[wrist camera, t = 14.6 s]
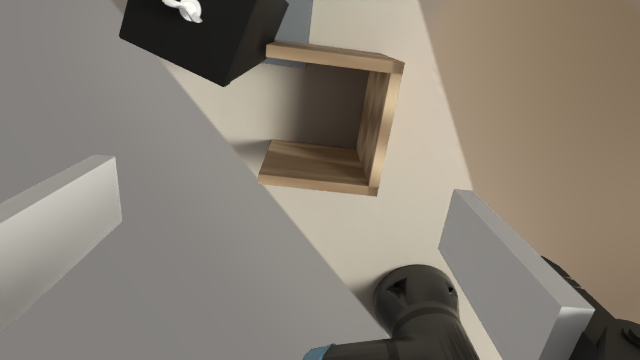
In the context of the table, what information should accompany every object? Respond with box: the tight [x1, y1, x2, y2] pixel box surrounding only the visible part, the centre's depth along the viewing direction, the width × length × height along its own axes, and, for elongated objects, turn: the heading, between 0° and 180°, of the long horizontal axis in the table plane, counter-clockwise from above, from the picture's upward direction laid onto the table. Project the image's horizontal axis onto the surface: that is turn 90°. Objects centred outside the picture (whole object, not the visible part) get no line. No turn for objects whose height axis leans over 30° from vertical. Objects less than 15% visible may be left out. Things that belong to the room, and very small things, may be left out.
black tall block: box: [119, 0, 289, 87], centre depth 34 cm, size 8×8×28 cm
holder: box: [258, 40, 405, 196], centre depth 45 cm, size 15×14×14 cm
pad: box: [261, 0, 313, 69], centre depth 47 cm, size 13×13×1 cm
